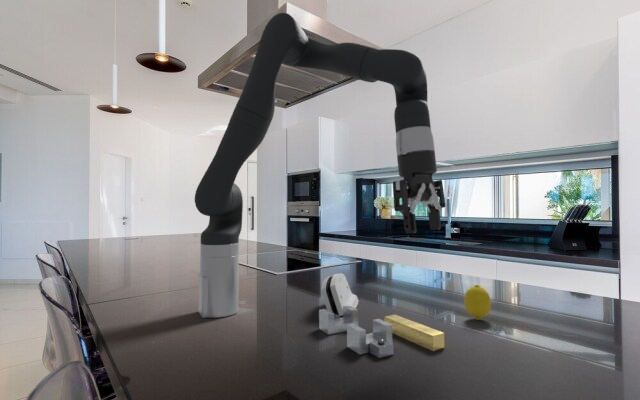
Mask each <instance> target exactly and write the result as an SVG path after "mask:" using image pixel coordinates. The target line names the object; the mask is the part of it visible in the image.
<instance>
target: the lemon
mask: <svg viewBox="0 0 640 400" xmlns="http://www.w3.org/2000/svg"><path fill="white" fill-rule="evenodd" d="M464 307H465V309H466V312H467V313H468V314H469V316H470V315H471V316H472V317H474V319H475V320H477V321H480V320H481V319H483V318H485V317H486V316H488V314H489V313H490V311H491V307H492V301H491V297H490V295H489V292H488V291H487V290H486V289H485V288H484V287H482V286H480V285H479V284H474V286H471V287H469V288H468V289H467V290H466V292H465V294H464Z"/></svg>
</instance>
